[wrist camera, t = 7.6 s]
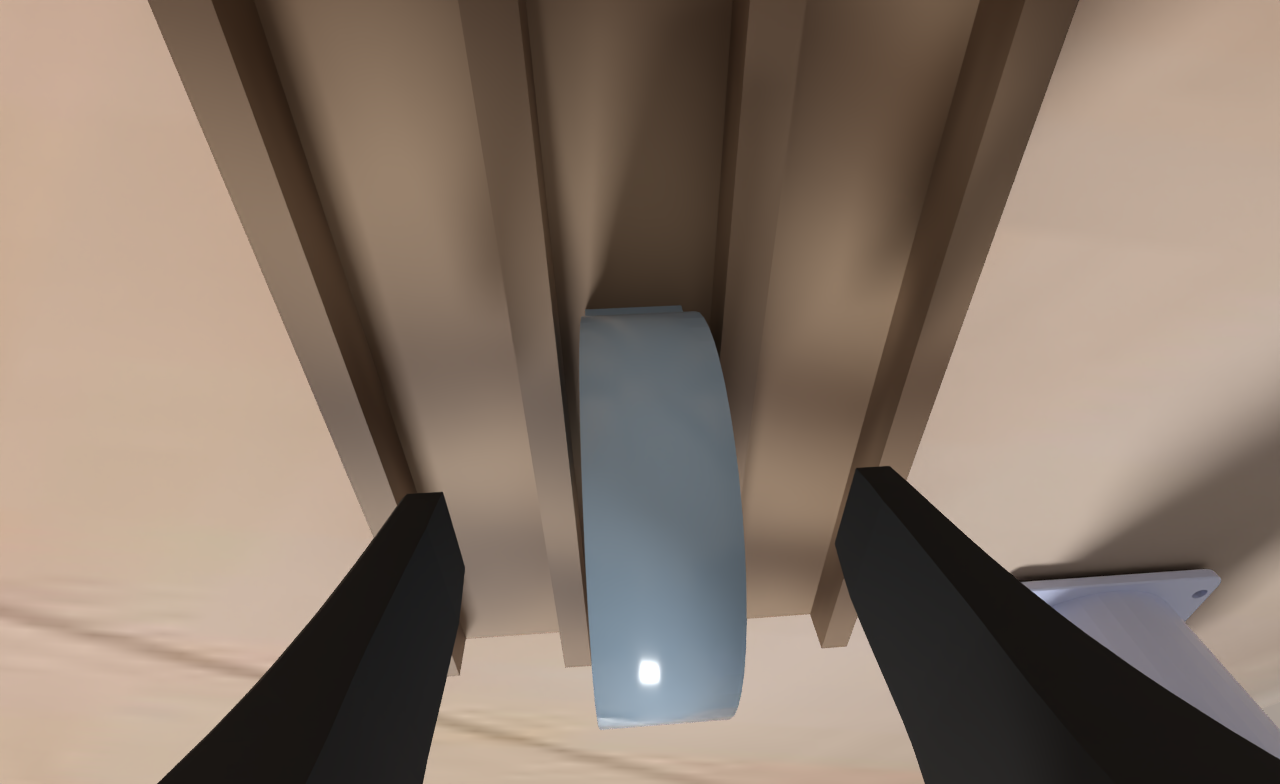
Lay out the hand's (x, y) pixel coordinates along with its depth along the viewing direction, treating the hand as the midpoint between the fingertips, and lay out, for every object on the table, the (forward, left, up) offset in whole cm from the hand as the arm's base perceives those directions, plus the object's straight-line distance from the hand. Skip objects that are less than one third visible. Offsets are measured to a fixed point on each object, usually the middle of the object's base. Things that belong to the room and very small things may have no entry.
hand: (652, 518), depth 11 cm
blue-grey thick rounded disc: (0, 0, -4) cm, 4 cm away
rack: (0, 0, -5) cm, 5 cm away
